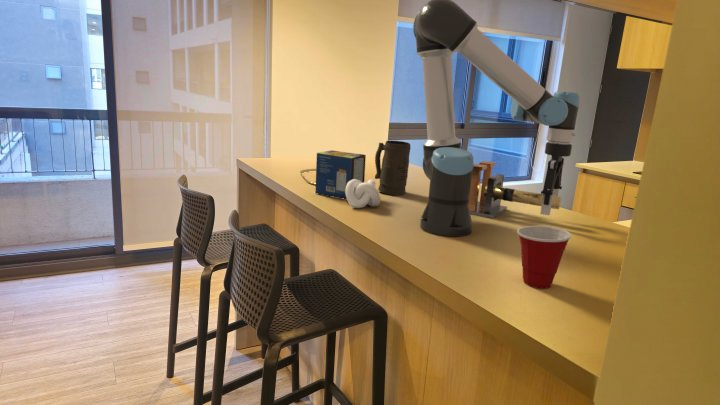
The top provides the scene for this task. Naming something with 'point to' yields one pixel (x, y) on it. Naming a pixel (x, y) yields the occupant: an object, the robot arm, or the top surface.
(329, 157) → the protein box
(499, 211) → the wooden stand
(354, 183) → the white knot sculpture
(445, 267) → the top surface
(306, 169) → the beaded necklace
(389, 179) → the beer stein
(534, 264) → the plastic cup
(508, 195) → the tube
